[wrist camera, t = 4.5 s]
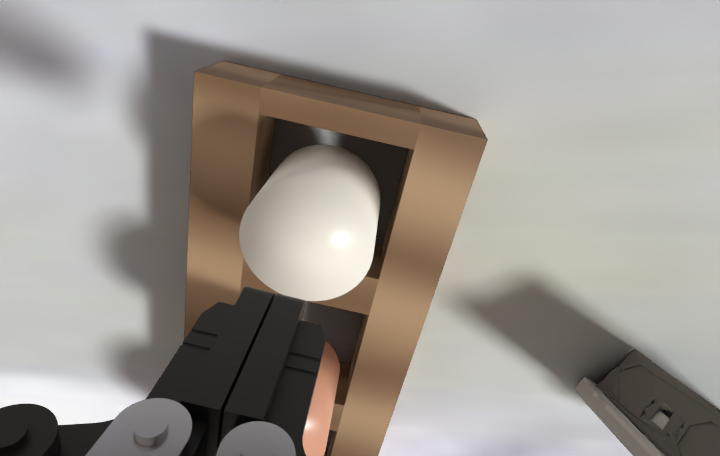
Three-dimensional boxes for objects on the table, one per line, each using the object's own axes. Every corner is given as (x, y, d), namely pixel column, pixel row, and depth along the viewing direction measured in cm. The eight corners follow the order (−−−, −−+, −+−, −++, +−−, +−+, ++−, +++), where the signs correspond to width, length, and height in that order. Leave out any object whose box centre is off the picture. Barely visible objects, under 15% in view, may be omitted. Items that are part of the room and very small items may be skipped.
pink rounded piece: (253, 301, 21) (213, 382, 17) (351, 323, 21) (336, 409, 17) (245, 373, 23) (206, 462, 19) (333, 393, 24) (316, 486, 19)
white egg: (283, 126, 19) (245, 166, 15) (393, 151, 19) (388, 199, 15) (270, 223, 21) (234, 285, 17) (369, 246, 21) (358, 313, 17)
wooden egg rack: (223, 60, 20) (194, 71, 17) (477, 119, 20) (487, 139, 17) (199, 435, 31) (178, 477, 28) (361, 471, 31) (356, 516, 28)
